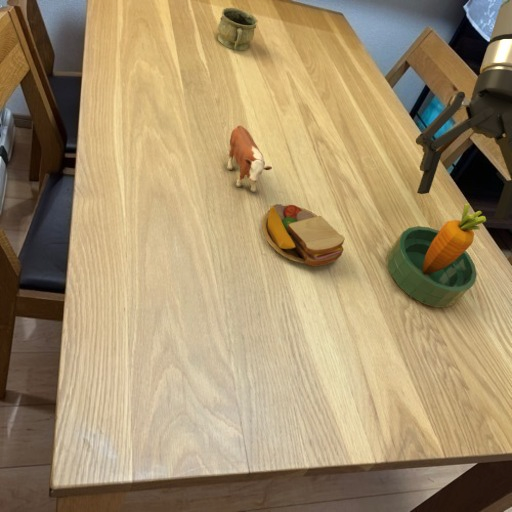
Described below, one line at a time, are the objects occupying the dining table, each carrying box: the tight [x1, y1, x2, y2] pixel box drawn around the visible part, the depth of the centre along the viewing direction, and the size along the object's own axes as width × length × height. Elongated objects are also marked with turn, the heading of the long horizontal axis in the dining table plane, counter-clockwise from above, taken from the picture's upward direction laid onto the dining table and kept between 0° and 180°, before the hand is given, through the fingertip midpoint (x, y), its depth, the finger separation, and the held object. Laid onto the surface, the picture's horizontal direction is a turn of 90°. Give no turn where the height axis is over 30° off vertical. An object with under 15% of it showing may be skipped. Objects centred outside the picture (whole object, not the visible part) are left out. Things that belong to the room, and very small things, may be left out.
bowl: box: [386, 225, 478, 308], centre depth 81 cm, size 14×14×5 cm
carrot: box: [422, 203, 487, 274], centre depth 77 cm, size 5×5×15 cm
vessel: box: [217, 7, 258, 51], centre depth 117 cm, size 12×9×6 cm
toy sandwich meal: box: [261, 203, 346, 267], centre depth 78 cm, size 12×14×5 cm
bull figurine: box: [226, 124, 273, 193], centre depth 83 cm, size 4×13×8 cm, turn 15°
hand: (461, 206), depth 78 cm, fingers open, 13 cm apart
